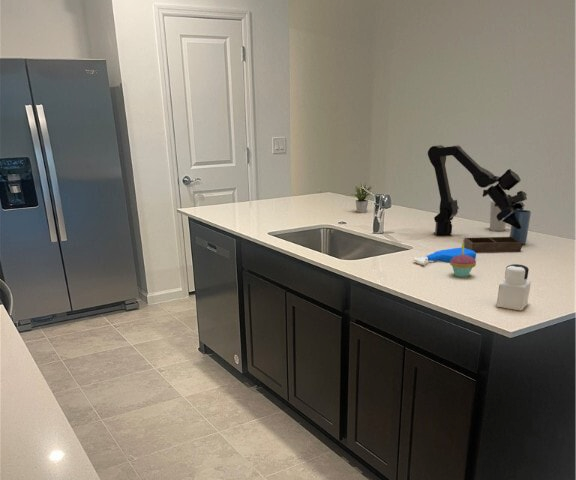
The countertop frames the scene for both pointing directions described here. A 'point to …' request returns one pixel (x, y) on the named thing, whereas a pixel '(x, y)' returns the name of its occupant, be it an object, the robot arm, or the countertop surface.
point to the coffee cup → (494, 222)
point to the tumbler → (523, 220)
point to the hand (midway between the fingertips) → (523, 227)
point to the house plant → (361, 199)
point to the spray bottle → (444, 255)
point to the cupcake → (462, 264)
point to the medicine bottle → (514, 288)
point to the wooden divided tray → (493, 244)
